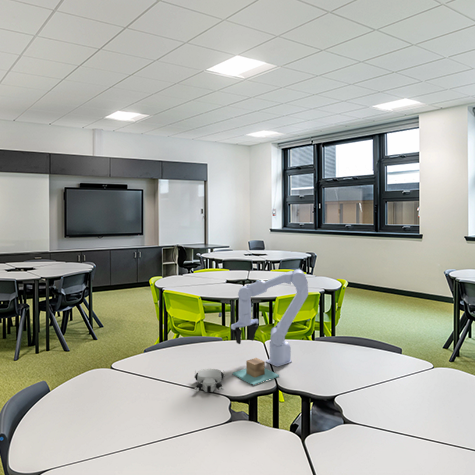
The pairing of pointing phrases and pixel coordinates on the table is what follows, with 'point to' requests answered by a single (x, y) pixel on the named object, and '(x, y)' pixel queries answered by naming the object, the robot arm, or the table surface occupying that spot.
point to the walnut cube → (255, 367)
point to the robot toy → (209, 379)
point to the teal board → (255, 380)
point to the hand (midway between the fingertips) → (245, 341)
